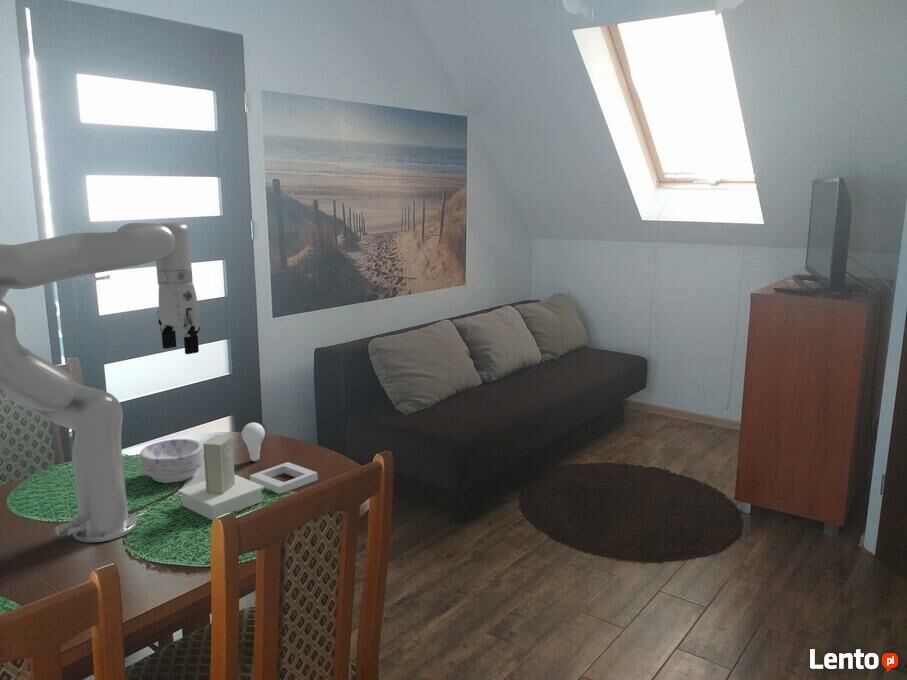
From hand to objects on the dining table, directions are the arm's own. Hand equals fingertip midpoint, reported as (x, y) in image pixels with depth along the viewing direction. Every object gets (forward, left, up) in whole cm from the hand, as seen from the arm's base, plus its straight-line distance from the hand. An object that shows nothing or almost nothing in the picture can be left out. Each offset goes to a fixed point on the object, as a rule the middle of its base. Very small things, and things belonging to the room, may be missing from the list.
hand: (180, 350), depth 168 cm
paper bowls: (+4, +15, -36) cm, 40 cm away
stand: (+2, -10, -36) cm, 38 cm away
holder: (+20, -10, -36) cm, 43 cm away
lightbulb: (+24, +8, -36) cm, 44 cm away
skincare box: (+2, -10, -32) cm, 34 cm away
